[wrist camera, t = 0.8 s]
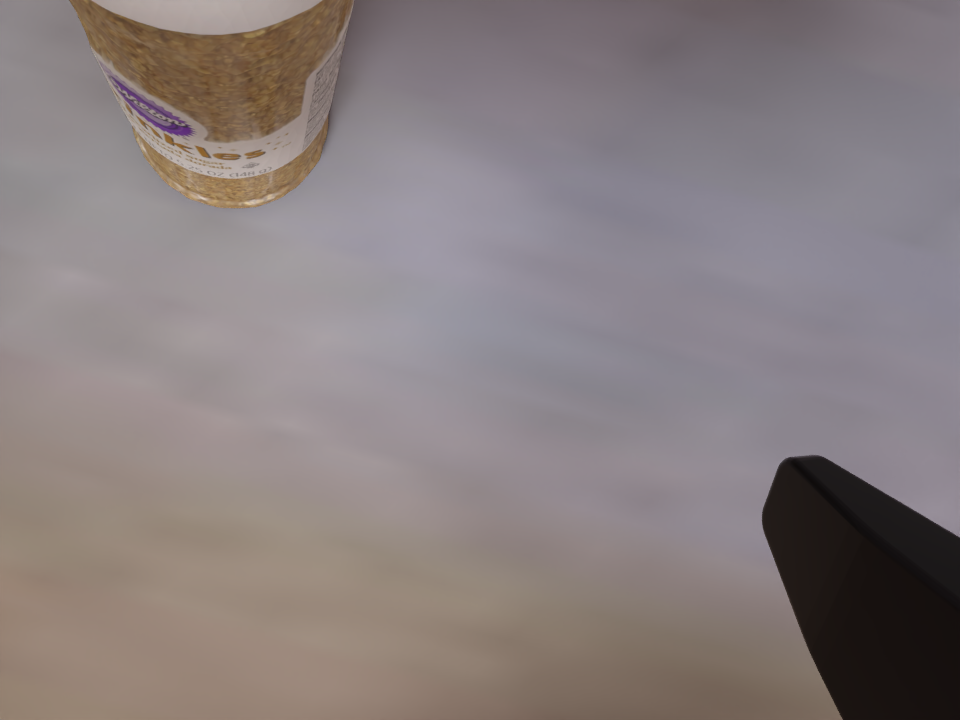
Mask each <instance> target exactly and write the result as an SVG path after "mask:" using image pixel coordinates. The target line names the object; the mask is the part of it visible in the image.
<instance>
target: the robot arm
mask: <svg viewBox="0 0 960 720" xmlns="http://www.w3.org/2000/svg"><path fill="white" fill-rule="evenodd" d="M762 525H763V530H764V533H765V536H766V539H767V541H768V544H769V547H770V549H771V552H772V555H773V557H774V560H775V563H776V565H777V568H778V571H779V573H780V576H781V579H782V581H783V584H784V587H785V589H786V592H787V595H788V597H789V600H790V603H791V605H792V608H793V611H794V613H795V616H796V619H797V621H798V624H799V627H800V629H801V632H802V634H803V637H804V639H805V642H806V644H807V647H808V649H809V651H810V654H811V656H812V658H813V660H814V662H815V664H816V666H817V669H818V671H819V673H820V675H821V677H822V679H823V681H824V683H825V685H826V687H827V689H828V691H829V693H830V695H831V697H832V699H833V701H834V703H835V705H836V707H837V709H838V711H839V713H840V715H841V717H842V719H843V720H960V537H958V536H956V535H955V534H953V533H951V532H950V531H948V530H946V529H945V528H943V527H941V526H940V525H938V524H936V523H934V522H933V521H931V520H929V519H928V518H926V517H924V516H923V515H921V514H919V513H918V512H916V511H914V510H912V509H911V508H909V507H907V506H906V505H904V504H902V503H901V502H899V501H897V500H896V499H894V498H892V497H890V496H889V495H887V494H885V493H884V492H882V491H880V490H879V489H877V488H875V487H874V486H872V485H870V484H868V483H867V482H865V481H863V480H862V479H860V478H858V477H857V476H855V475H853V474H852V473H850V472H848V471H847V470H845V469H843V468H841V467H840V466H838V465H836V464H835V463H833V462H831V461H830V460H828V459H826V458H824V457H822V456H818V455H809V456H797V457H789V458H786V459H784V460H783V461H782V462H781V463H780V465H779V467H778V469H777V472H776V475H775V477H774V480H773V483H772V486H771V488H770V491H769V494H768V497H767V499H766V502H765V505H764V508H763V512H762Z"/></svg>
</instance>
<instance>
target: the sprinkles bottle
mask: <svg viewBox="0 0 960 720" xmlns="http://www.w3.org/2000/svg"><path fill="white" fill-rule="evenodd" d="M70 2H71V4H72V5H73V7H74V9H75V10H76V12H77V14H78V17H79V19H80V21H81V23H82V25H83V27H84V29H85V32H86V34H87V37H88V40H89V44H90V47H91V49H92V52H93V54H94V56H95V58H96V60H97V61H98V63H99V65H100V67H101V69H102V71H103V73H104V75H105V77H106V79H107V82H108V83H109V85H110V87H111V89H112V91H113V93H114V95H115V97H116V98H117V100H118V102H119V104H120V106H121V108H122V110H123V112H124V113H125V115H126V117H127V119H128V120H129V122H130V123H131V124H132V128H133V132H134V135H135V138H136V140H137V143H138V145H139V146H140V148H141V150H142V152H143V155H144V157H145V158H146V159H147V161H148V162H149V163H150V165H151V166H152V167H153V168H154V170H155V171H156V172H157V173H158V174H159V175H160V177H161V178H162V179H163V180H164V181H165V182H166V183H167V184H168V185H169V186H171V187H172V188H174V189H175V190H177V191H179V192H180V193H182V194H183V195H184V196H186V197H187V198H189V199H192V200H195V201H198V202H202V203H204V204H207V205H211V206H215V207H221V208H249V207H258V206H260V205H263V204H266V203H269V202H272V201H274V200H277V199H279V198H281V197H283V196H284V195H285V194H287V193H288V192H290V191H291V190H293V189H294V188H296V187H297V186H298V185H299V184H300V183H301V182H302V181H303V180H304V179H305V177H306V176H308V174H309V173H310V171H311V170H312V169H313V168H314V167H315V165H316V164H317V162H318V161H319V159H320V156H321V153H322V148H323V145H324V142H325V140H326V136H327V129H328V113H329V110H330V107H331V103H332V99H333V95H334V90H335V85H336V80H337V75H338V71H339V66H340V61H341V56H342V52H343V47H344V43H345V38H346V34H347V29H348V25H349V21H350V17H351V13H352V9H353V5H354V0H70Z"/></svg>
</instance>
